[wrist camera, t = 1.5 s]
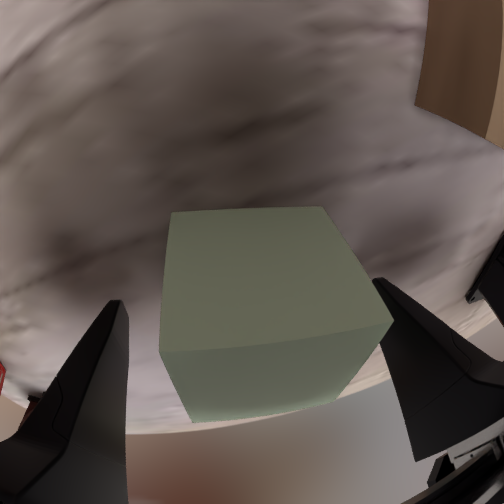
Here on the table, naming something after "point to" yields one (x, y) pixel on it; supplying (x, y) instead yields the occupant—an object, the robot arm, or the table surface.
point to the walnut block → (465, 65)
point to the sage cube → (263, 311)
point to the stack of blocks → (2, 376)
